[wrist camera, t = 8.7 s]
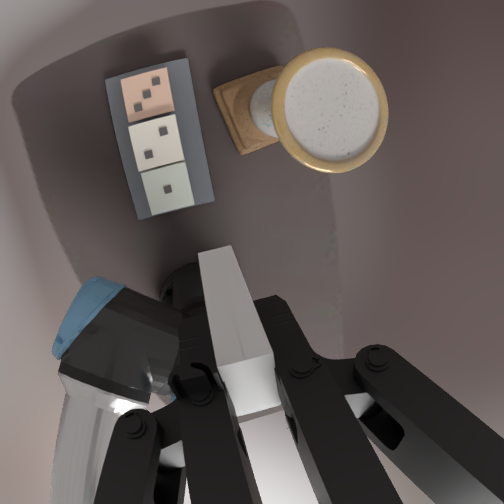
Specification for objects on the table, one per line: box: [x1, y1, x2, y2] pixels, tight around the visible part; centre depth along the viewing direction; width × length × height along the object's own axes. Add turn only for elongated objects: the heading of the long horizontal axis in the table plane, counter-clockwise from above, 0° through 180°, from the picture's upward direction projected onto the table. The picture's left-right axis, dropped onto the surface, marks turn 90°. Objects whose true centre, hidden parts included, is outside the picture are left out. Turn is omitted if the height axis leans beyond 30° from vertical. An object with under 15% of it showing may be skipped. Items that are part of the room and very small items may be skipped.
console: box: [105, 58, 215, 220], centre depth 37 cm, size 22×12×4 cm, turn 9°
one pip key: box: [141, 158, 195, 215], centre depth 39 cm, size 6×6×4 cm
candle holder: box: [212, 47, 388, 173], centre depth 30 cm, size 11×11×24 cm
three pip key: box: [121, 67, 175, 123], centre depth 33 cm, size 6×6×4 cm
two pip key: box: [128, 114, 184, 171], centre depth 35 cm, size 6×6×4 cm
